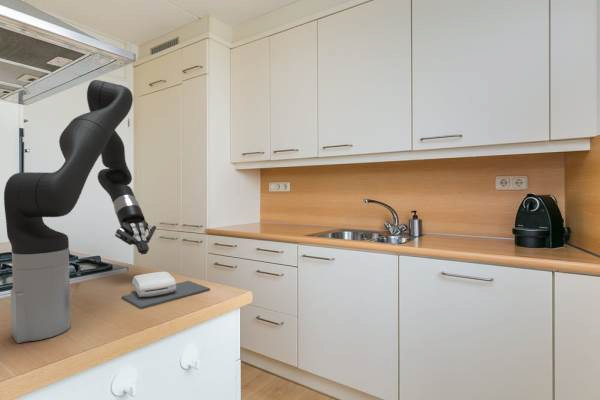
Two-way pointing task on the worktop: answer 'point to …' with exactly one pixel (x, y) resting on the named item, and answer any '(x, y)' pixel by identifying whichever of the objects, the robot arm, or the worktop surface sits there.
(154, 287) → the photo printer
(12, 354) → the worktop surface
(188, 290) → the mat
